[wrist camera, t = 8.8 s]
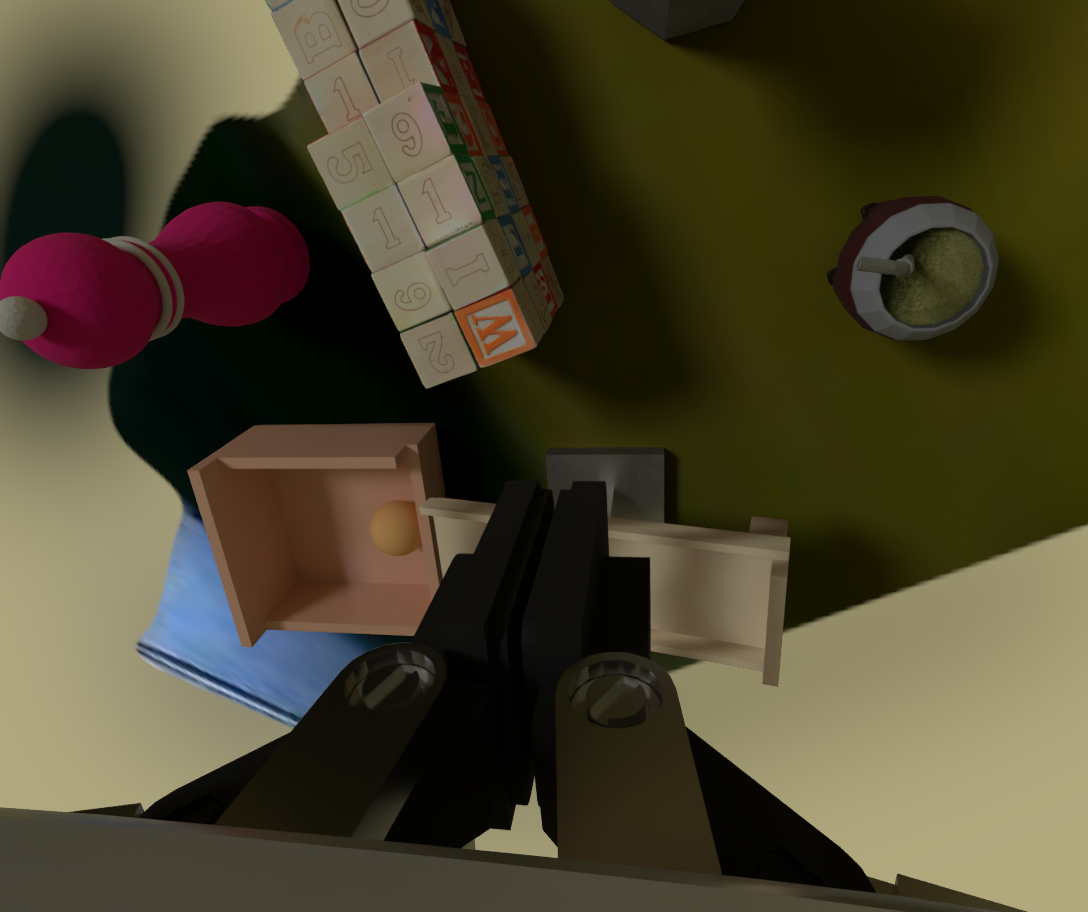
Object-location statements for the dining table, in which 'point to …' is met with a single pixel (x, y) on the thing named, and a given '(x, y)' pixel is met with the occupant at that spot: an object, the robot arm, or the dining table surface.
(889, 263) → the mate gourd
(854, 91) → the dining table surface
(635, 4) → the coffeepot
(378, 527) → the ball
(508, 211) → the stack of blocks
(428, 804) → the robot arm
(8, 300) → the pepper mill
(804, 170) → the dining table surface
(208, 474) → the pink open box
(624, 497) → the pivot stand
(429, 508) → the tray
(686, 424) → the dining table surface
